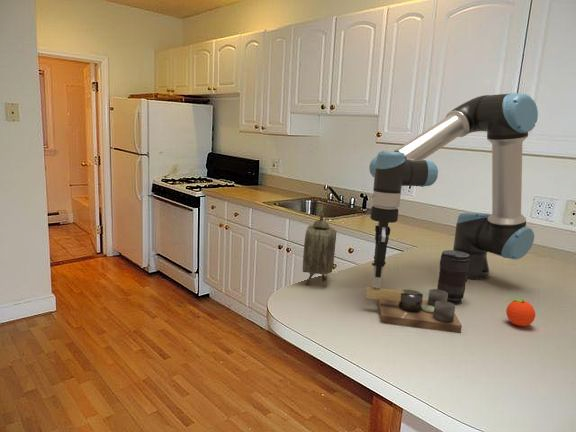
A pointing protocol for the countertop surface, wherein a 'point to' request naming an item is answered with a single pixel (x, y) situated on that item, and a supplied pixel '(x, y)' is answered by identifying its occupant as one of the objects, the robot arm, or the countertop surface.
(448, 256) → the camera lens
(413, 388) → the countertop surface
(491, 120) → the robot arm
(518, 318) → the tomato
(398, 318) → the base
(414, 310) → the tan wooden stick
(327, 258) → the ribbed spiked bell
